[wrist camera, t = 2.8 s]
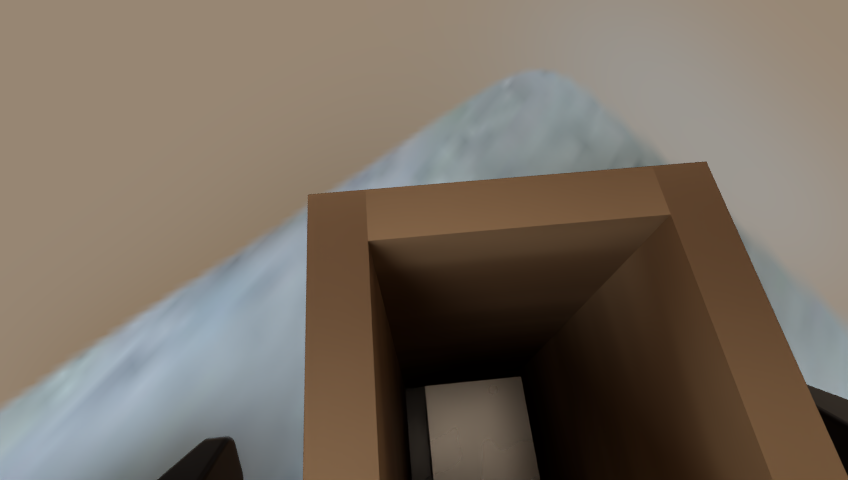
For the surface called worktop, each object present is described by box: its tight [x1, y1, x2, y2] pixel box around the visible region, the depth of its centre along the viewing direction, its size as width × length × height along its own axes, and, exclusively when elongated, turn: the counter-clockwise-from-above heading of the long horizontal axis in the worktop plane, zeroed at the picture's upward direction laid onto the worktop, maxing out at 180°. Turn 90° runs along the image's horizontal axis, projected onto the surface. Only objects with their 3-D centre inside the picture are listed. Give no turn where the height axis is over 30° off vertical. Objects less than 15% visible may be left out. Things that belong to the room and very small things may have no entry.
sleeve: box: [303, 162, 848, 480], centre depth 10 cm, size 5×5×11 cm
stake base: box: [405, 377, 540, 480], centre depth 13 cm, size 8×8×5 cm
